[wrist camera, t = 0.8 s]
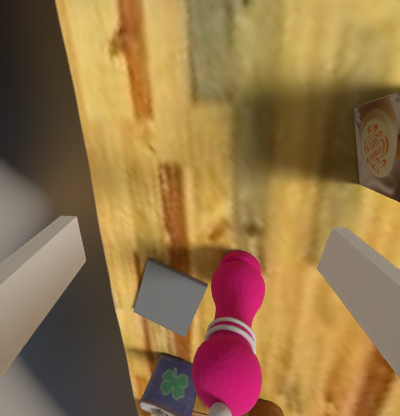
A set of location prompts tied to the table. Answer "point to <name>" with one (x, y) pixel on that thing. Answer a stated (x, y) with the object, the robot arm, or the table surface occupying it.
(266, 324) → the table surface
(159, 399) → the flask
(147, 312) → the charcoal mat
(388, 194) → the coffee box
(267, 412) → the disposable coffee cup
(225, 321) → the pepper mill
